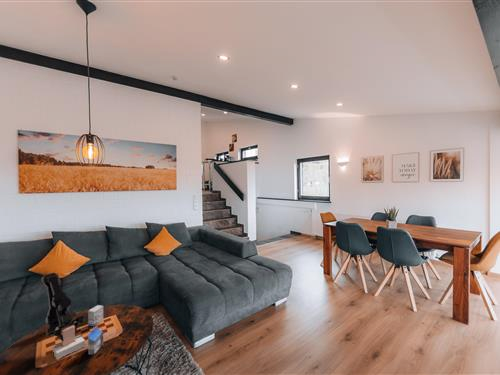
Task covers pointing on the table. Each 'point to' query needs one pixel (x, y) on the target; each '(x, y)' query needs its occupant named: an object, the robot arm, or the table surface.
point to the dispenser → (68, 347)
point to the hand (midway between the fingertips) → (69, 338)
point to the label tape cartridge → (95, 341)
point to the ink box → (95, 315)
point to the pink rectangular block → (68, 335)
